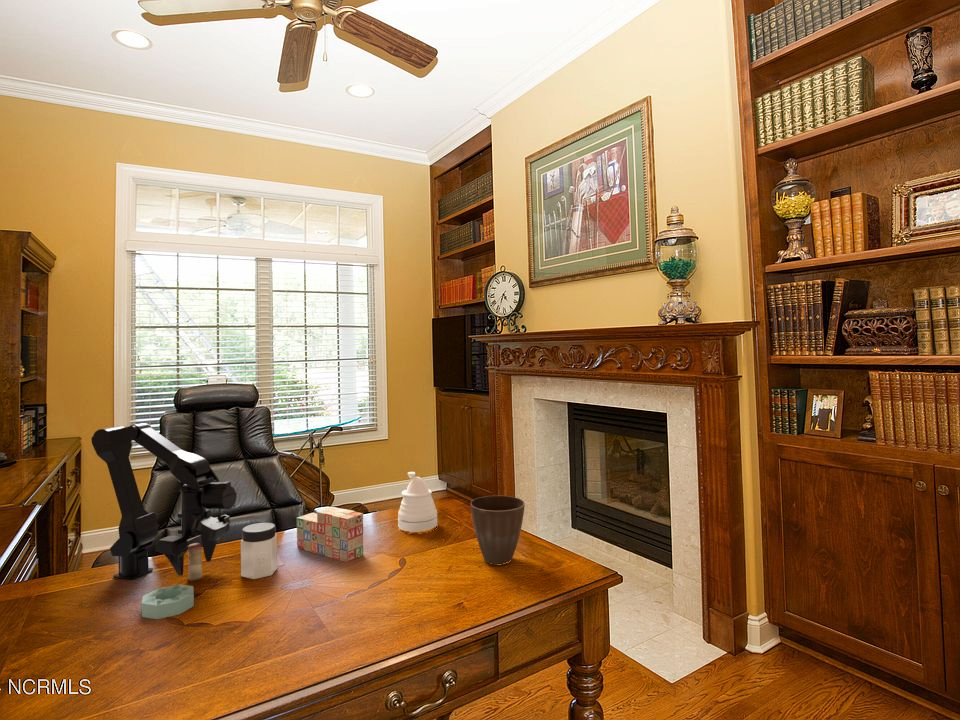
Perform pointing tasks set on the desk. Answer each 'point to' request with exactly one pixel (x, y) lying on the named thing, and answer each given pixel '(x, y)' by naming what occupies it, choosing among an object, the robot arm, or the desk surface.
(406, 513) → the honey pot
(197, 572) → the beige cylindrical peg
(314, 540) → the stack of blocks
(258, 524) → the jar
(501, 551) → the plant pot
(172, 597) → the bead
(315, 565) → the desk surface
